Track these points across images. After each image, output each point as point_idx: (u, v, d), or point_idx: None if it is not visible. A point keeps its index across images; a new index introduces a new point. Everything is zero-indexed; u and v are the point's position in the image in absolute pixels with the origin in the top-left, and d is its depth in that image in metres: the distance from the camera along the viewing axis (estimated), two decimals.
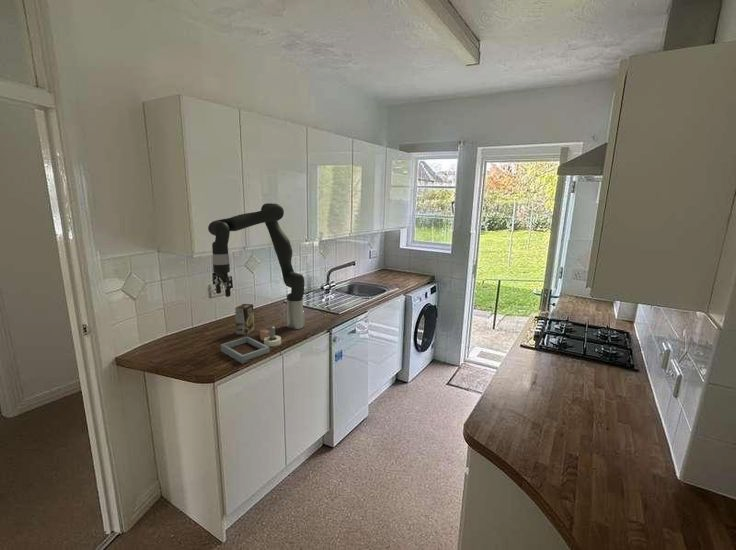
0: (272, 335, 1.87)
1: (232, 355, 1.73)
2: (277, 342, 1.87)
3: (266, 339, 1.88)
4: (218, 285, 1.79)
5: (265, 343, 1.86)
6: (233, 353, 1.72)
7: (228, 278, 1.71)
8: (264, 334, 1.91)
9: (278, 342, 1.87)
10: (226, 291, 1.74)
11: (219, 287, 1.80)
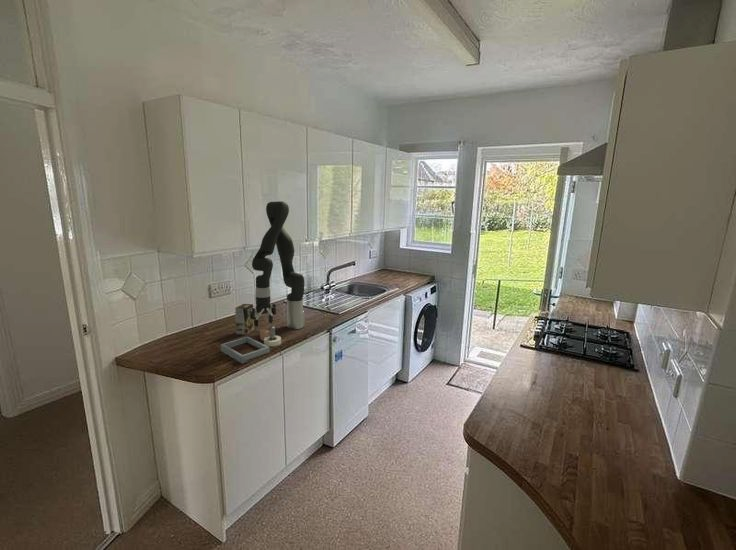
0: (272, 335, 1.87)
1: (232, 355, 1.73)
2: (277, 342, 1.87)
3: (266, 339, 1.88)
4: None
5: (265, 343, 1.86)
6: (233, 353, 1.72)
7: None
8: (264, 334, 1.91)
9: (278, 342, 1.87)
10: (271, 318, 1.95)
11: None
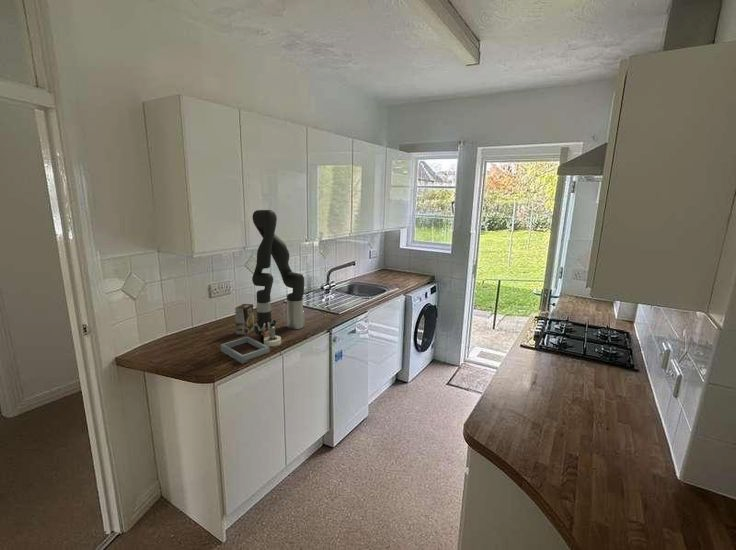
0: (272, 335, 1.87)
1: (232, 355, 1.73)
2: (277, 342, 1.87)
3: (266, 339, 1.88)
4: None
5: (265, 343, 1.86)
6: (233, 353, 1.72)
7: None
8: (264, 334, 1.91)
9: (278, 342, 1.87)
10: None
11: None
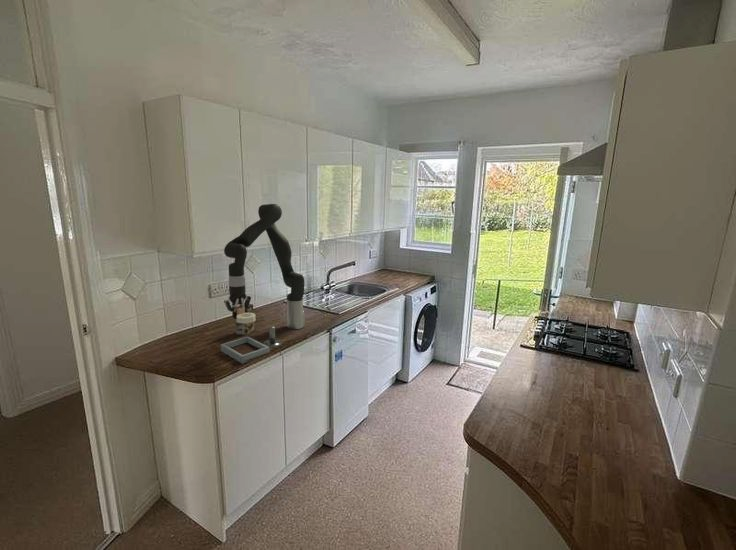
0: (272, 335, 1.87)
1: (232, 355, 1.73)
2: (251, 319, 1.72)
3: (239, 316, 1.73)
4: None
5: (238, 320, 1.71)
6: (233, 353, 1.72)
7: None
8: (237, 311, 1.76)
9: (252, 319, 1.72)
10: None
11: None
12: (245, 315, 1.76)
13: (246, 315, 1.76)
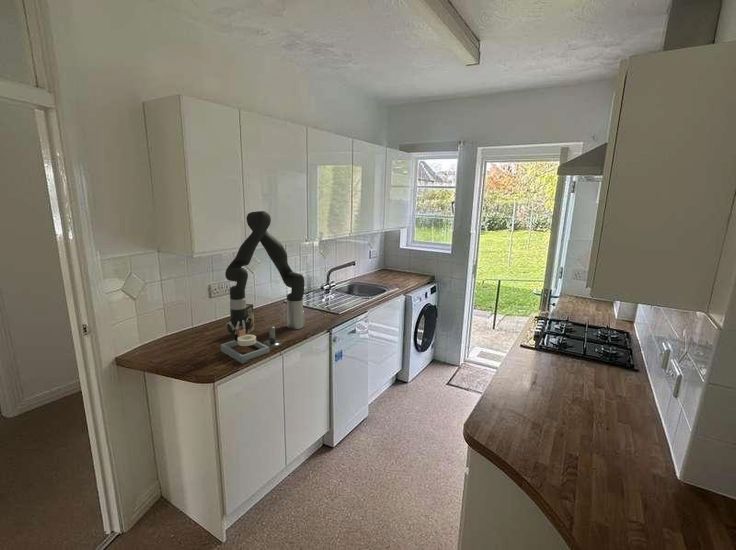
0: (272, 335, 1.87)
1: (232, 355, 1.73)
2: (251, 341, 1.74)
3: (240, 338, 1.75)
4: None
5: (238, 342, 1.74)
6: (233, 353, 1.72)
7: None
8: (238, 333, 1.78)
9: (252, 341, 1.75)
10: None
11: None
12: (245, 337, 1.79)
13: (247, 337, 1.79)
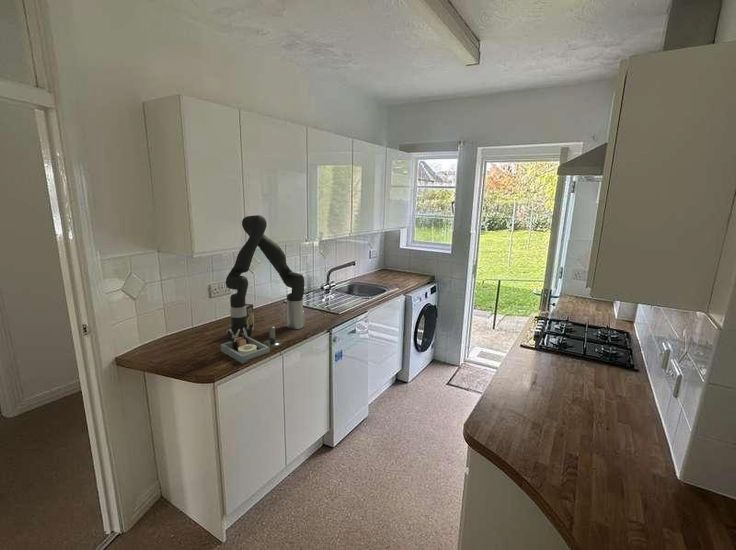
0: (272, 335, 1.87)
1: (232, 355, 1.73)
2: (252, 351, 1.75)
3: (240, 348, 1.76)
4: None
5: None
6: (233, 353, 1.72)
7: None
8: (239, 343, 1.79)
9: None
10: (246, 340, 1.84)
11: None
12: (246, 347, 1.80)
13: (247, 347, 1.80)
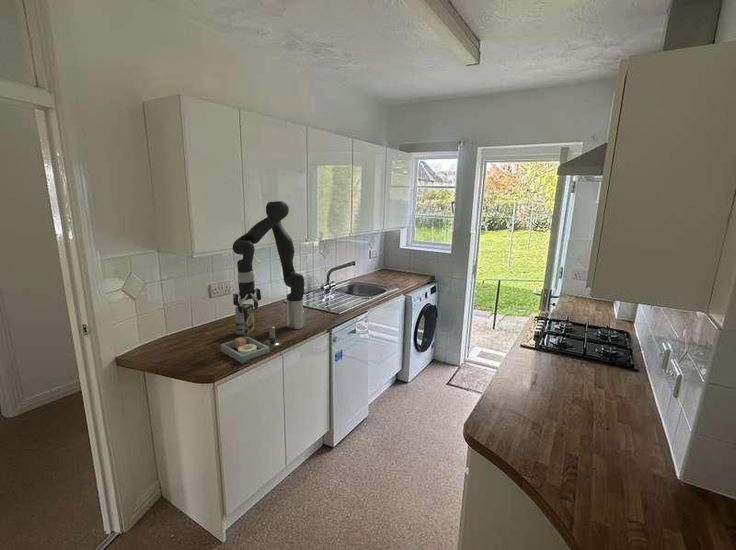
0: (272, 335, 1.87)
1: (232, 355, 1.73)
2: (252, 351, 1.75)
3: (240, 348, 1.76)
4: None
5: None
6: (233, 353, 1.72)
7: None
8: (239, 343, 1.79)
9: None
10: (257, 303, 1.86)
11: None
12: (246, 347, 1.80)
13: (247, 347, 1.80)
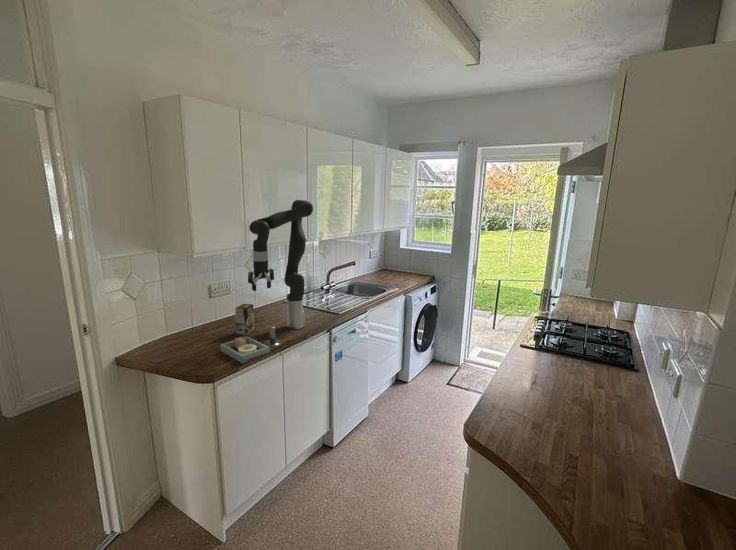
0: (272, 335, 1.87)
1: (232, 355, 1.73)
2: (252, 351, 1.75)
3: (240, 348, 1.76)
4: None
5: None
6: (233, 353, 1.72)
7: None
8: (239, 343, 1.79)
9: None
10: (270, 283, 1.93)
11: None
12: (246, 347, 1.80)
13: (247, 347, 1.80)
